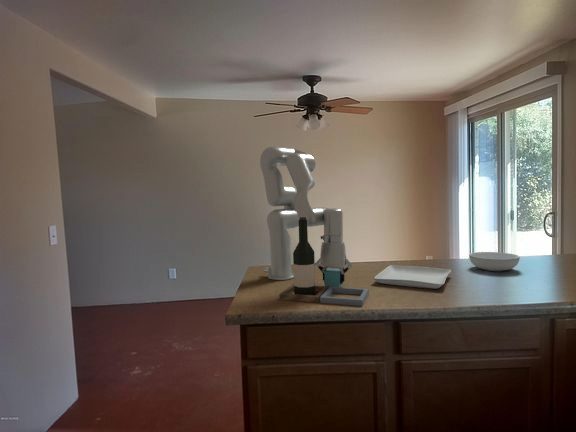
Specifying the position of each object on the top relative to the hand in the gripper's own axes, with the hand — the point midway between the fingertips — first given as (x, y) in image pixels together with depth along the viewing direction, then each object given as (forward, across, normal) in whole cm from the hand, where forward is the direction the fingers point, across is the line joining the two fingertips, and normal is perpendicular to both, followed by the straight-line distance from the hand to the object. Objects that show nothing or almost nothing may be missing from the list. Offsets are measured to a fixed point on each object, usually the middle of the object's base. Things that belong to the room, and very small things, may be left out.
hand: (333, 282), depth 152 cm
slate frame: (+2, +8, -14) cm, 16 cm away
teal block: (+1, 0, 0) cm, 1 cm away
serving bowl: (+2, +66, +49) cm, 82 cm away
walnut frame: (+2, -8, -14) cm, 16 cm away
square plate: (+2, +30, +19) cm, 36 cm away
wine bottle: (+2, -8, -14) cm, 16 cm away
